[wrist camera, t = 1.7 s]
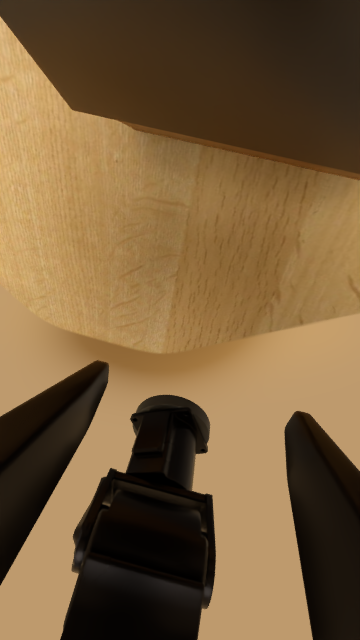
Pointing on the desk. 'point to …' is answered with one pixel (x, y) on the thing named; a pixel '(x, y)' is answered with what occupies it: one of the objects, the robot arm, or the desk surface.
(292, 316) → the desk surface
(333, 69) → the lid
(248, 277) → the desk surface
